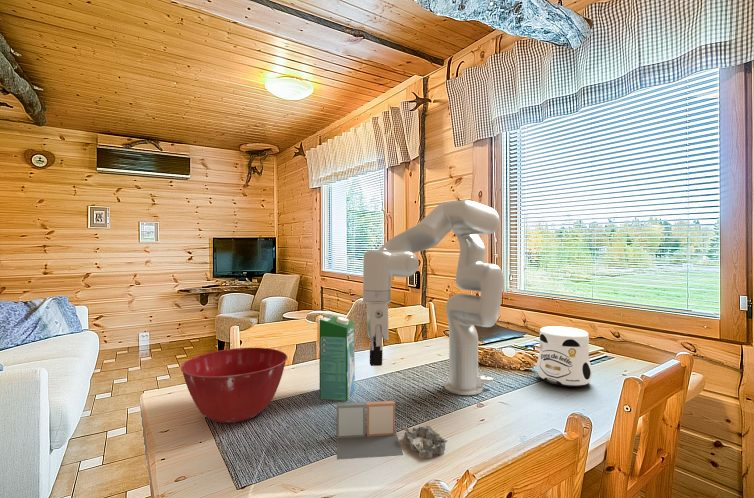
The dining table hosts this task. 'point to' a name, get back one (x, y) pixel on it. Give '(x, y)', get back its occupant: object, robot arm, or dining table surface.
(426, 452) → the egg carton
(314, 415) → the dining table surface
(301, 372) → the dining table surface
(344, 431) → the grey flat block
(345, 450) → the rubber mat
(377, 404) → the terracotta tile
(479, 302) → the robot arm
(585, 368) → the milk container
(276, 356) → the mixing bowl
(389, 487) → the dining table surface
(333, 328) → the milk carton
